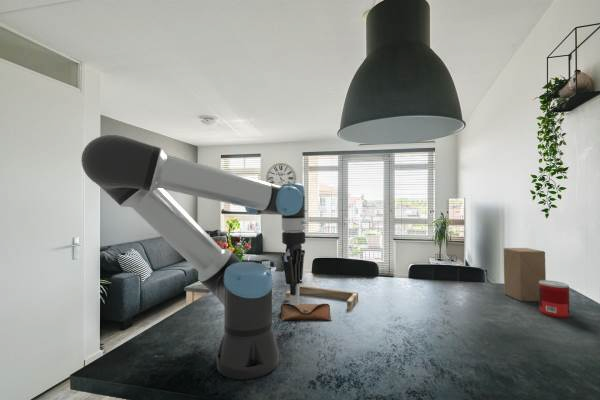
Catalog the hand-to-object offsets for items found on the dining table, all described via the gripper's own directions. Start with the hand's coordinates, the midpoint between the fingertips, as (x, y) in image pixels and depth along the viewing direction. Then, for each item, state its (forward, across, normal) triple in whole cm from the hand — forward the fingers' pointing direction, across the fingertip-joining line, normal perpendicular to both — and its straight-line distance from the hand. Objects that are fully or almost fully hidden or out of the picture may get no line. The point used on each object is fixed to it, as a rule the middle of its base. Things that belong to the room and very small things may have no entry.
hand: (294, 304), depth 92 cm
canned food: (+8, +45, -80) cm, 92 cm away
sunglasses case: (+8, +8, 0) cm, 11 cm away
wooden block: (+8, +63, -76) cm, 99 cm away
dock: (+7, +26, 0) cm, 27 cm away
